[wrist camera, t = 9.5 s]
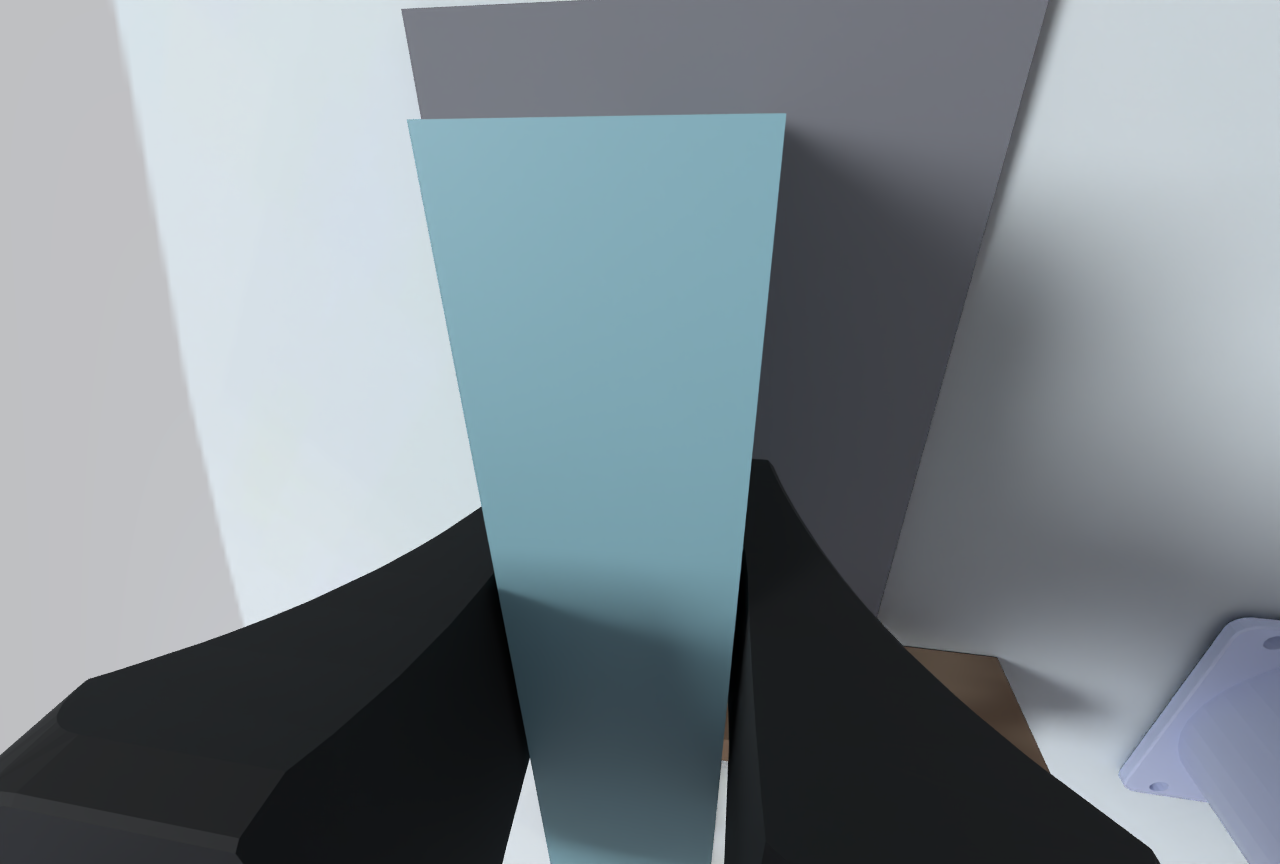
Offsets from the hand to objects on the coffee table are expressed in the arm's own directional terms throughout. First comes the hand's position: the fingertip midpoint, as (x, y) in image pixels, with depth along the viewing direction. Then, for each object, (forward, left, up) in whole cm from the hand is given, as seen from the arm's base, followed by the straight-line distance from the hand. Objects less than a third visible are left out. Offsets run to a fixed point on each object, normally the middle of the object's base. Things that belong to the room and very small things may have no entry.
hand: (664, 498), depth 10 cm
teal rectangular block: (0, 0, -5) cm, 5 cm away
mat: (0, 0, -5) cm, 5 cm away
